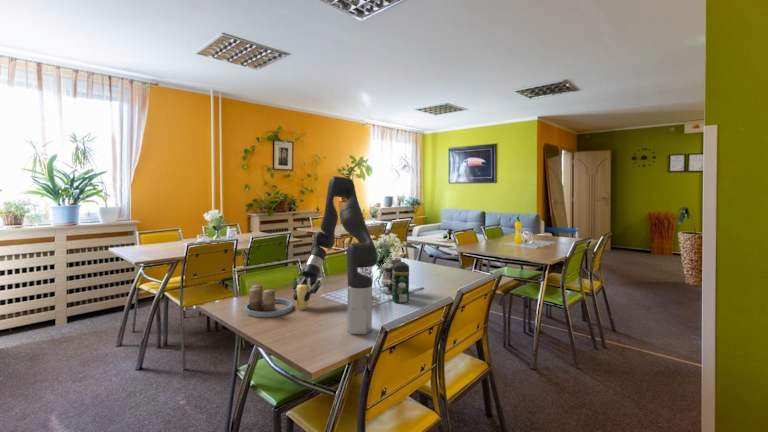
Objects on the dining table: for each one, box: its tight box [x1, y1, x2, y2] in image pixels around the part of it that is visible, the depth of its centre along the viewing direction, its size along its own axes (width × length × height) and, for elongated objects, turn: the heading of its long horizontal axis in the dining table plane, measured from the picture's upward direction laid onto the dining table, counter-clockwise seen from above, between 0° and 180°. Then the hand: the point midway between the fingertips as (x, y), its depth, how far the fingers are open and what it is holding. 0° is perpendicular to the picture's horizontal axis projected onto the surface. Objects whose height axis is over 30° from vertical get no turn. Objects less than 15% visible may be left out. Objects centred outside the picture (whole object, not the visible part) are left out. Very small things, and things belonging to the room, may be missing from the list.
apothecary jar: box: [380, 257, 402, 295], centre depth 191 cm, size 12×12×18 cm
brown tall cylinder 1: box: [250, 284, 264, 310], centre depth 163 cm, size 5×5×10 cm
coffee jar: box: [391, 261, 410, 304], centre depth 177 cm, size 10×8×19 cm
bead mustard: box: [296, 285, 309, 310], centre depth 164 cm, size 5×5×10 cm
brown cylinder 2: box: [263, 288, 276, 312], centre depth 156 cm, size 5×5×10 cm
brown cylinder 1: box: [248, 287, 262, 312], centre depth 158 cm, size 5×5×10 cm
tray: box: [244, 297, 294, 318], centre depth 162 cm, size 20×20×2 cm
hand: (300, 300), depth 163 cm, fingers closed on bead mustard, 4 cm apart
